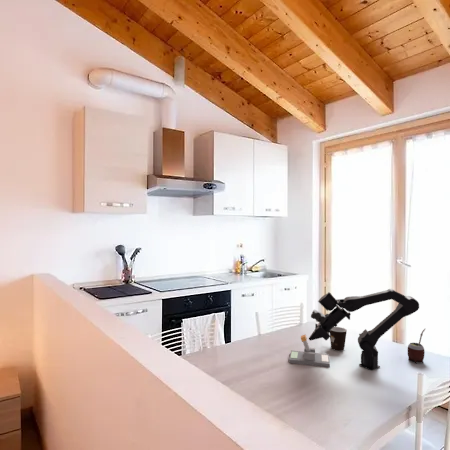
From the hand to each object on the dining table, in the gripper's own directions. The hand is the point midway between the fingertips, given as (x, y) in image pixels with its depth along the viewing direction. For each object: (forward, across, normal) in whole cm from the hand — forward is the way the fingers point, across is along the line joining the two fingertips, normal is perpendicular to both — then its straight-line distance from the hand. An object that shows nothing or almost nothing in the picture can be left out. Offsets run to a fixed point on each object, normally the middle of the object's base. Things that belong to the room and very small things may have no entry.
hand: (309, 339), depth 165 cm
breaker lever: (+5, 0, +5) cm, 7 cm away
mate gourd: (-27, -13, +42) cm, 52 cm away
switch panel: (+7, 0, +7) cm, 10 cm away
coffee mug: (-2, -21, +16) cm, 27 cm away
